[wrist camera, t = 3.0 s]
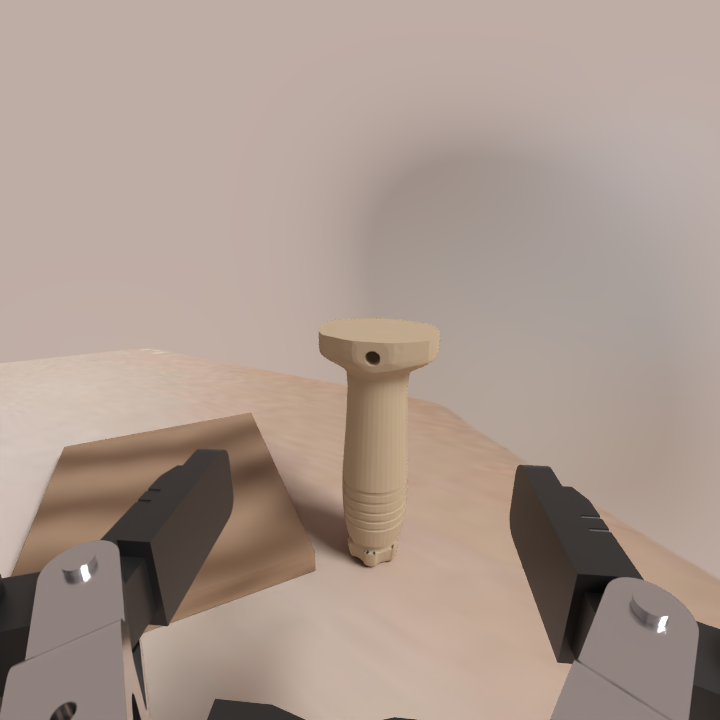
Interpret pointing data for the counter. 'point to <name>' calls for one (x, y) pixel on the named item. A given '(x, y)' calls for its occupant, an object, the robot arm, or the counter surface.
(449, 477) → the counter surface
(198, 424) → the walnut board
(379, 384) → the handle
